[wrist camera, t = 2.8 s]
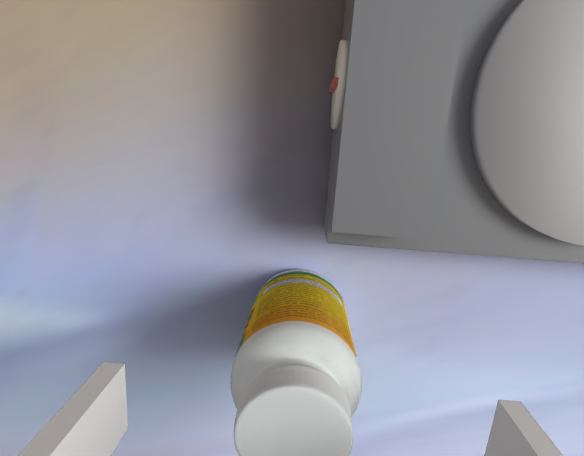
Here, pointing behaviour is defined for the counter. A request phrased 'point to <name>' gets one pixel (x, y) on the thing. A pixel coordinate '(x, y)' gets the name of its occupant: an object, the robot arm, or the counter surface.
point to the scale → (459, 128)
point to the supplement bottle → (296, 371)
